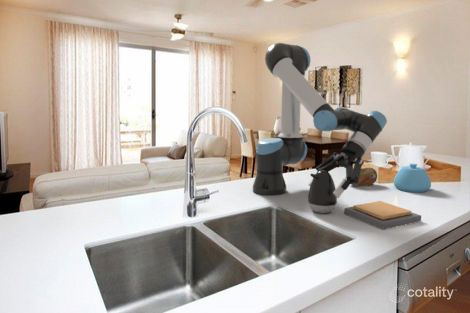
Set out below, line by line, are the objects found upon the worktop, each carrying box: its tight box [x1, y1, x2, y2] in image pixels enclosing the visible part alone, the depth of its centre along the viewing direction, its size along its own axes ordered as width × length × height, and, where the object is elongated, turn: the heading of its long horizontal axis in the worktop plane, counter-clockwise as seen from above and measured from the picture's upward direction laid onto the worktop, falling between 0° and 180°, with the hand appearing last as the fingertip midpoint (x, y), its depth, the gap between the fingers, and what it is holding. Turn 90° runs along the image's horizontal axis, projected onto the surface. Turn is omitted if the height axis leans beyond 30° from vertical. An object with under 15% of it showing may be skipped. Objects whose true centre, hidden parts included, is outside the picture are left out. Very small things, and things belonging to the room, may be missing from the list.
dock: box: [343, 206, 422, 230], centre depth 111 cm, size 17×17×2 cm
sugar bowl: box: [393, 163, 432, 193], centre depth 147 cm, size 15×15×12 cm
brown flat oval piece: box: [350, 167, 378, 187], centre depth 155 cm, size 15×3×8 cm, turn 105°
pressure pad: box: [352, 200, 412, 220], centre depth 111 cm, size 13×13×1 cm
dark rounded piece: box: [307, 170, 338, 214], centre depth 117 cm, size 10×10×15 cm
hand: (322, 191), depth 117 cm, fingers open, 13 cm apart
